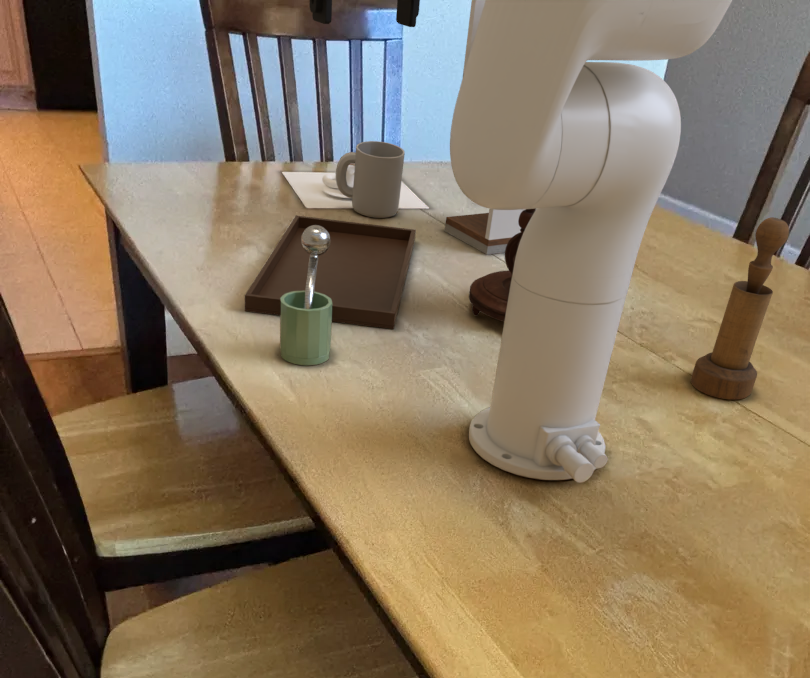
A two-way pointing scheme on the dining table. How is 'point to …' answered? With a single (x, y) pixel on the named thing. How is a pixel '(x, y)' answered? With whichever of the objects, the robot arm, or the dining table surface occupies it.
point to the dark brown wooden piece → (498, 279)
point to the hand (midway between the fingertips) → (364, 23)
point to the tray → (340, 271)
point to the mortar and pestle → (741, 323)
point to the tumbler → (305, 328)
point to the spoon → (313, 257)
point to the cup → (373, 178)
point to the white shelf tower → (496, 225)
